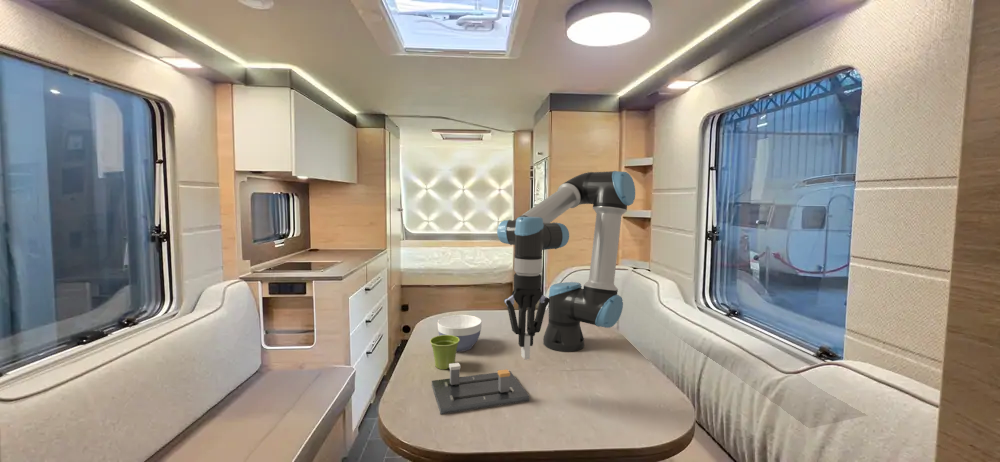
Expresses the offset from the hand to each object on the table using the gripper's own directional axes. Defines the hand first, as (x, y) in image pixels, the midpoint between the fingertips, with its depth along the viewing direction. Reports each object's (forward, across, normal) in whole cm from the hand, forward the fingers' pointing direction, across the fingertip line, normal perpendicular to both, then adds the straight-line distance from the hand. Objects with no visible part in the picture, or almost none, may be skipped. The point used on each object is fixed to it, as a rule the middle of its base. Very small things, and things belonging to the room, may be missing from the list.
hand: (525, 357), depth 111 cm
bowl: (+11, +10, -40) cm, 42 cm away
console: (+11, +12, -4) cm, 17 cm away
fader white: (+9, +18, -8) cm, 22 cm away
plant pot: (+11, +18, -25) cm, 33 cm away
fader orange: (+9, +6, 0) cm, 11 cm away
